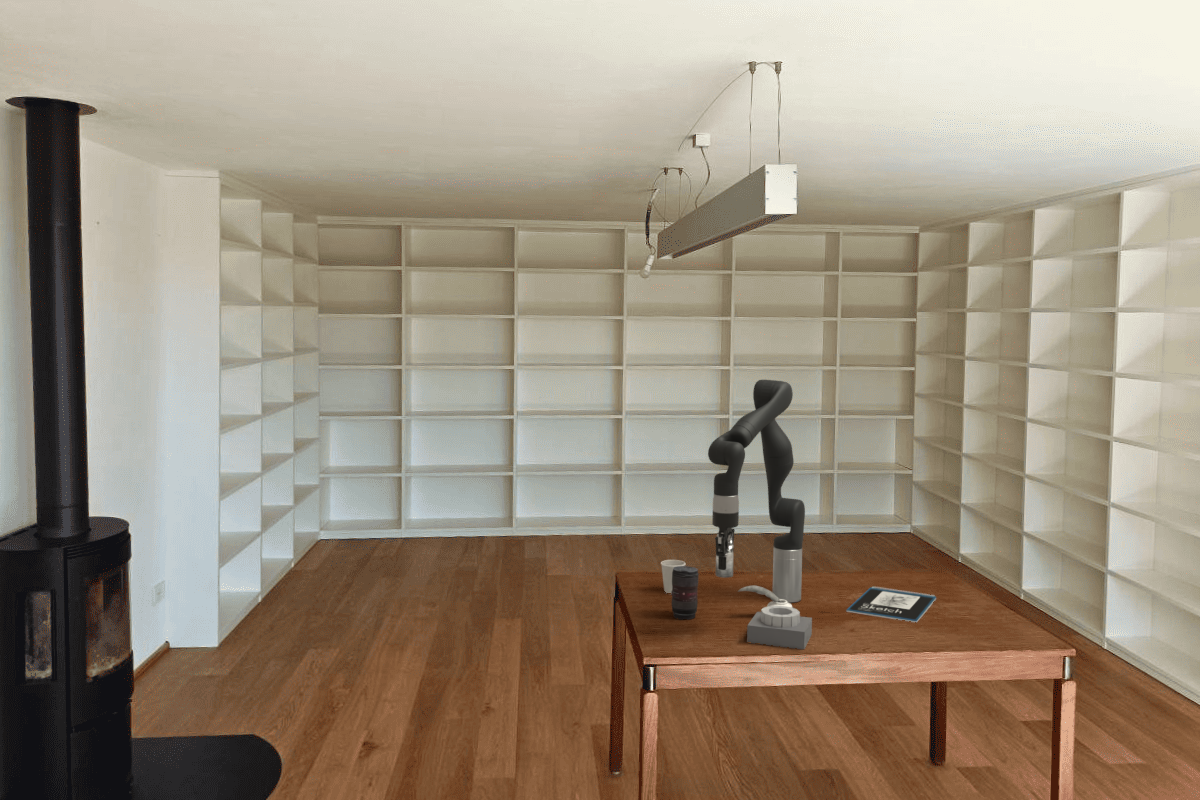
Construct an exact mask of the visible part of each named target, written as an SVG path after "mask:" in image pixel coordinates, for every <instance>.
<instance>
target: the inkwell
mask: <svg viewBox="0 0 1200 800" xmlns="http://www.w3.org/2000/svg"><path fill="white" fill-rule="evenodd" d="M737 592H752V593H756V594H758V595H765V596H766V597H767V598H769V599H770V600H771V601H770V602H768V604H767V606H766V607H768V606H786V607H791V608H793V605H792V603H791V602H787V601H786V600H784V599H779V598H778V597H777V596H776V595H775V594H773V591H771V590H769V589H767V588H765V587H762V586H758V585H747V586H743V587H741V588H740V589H739V590H737Z"/></svg>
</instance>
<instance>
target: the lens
mask: <svg viewBox="0 0 1200 800" xmlns="http://www.w3.org/2000/svg"><path fill="white" fill-rule="evenodd" d="M725 546H726V545H725ZM734 547H735V545H734V544H730V545H729V549H728V550H727V560H726V569H725V570H719V569H718V558H719V557H718V556H716V555H715V576H716V577H719V578H724V579H726V578H732V577H734ZM720 552H723V550H722V549H720Z"/></svg>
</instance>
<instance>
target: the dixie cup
mask: <svg viewBox="0 0 1200 800" xmlns="http://www.w3.org/2000/svg"><path fill="white" fill-rule="evenodd" d="M660 565H661V573H662V574H661V575H662V583H663V590H664V591H665V592H666V593H665V592H664V593H665V594H667V593H671V592H672V571H673V568H674V567H677V566H687V565H686V562H685V561H683V560H679V559H665V560H662V561H661V562H660Z"/></svg>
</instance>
